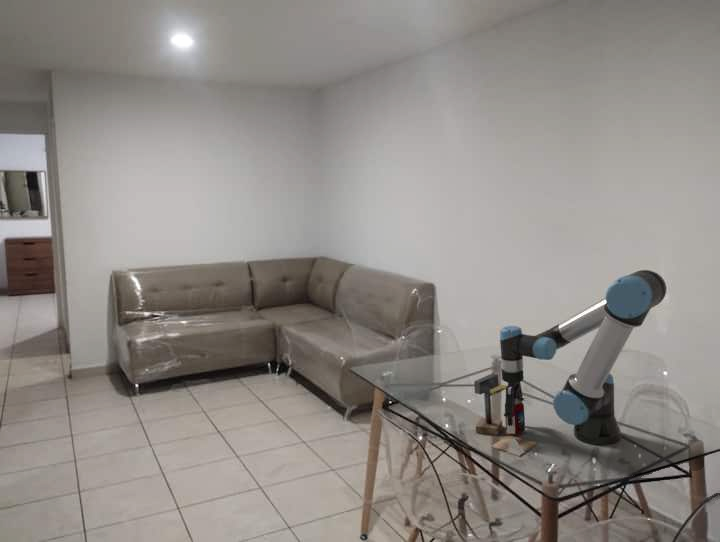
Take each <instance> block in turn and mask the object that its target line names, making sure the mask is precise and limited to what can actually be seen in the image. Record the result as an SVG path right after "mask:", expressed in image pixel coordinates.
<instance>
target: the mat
mask: <svg viewBox="0 0 720 542" xmlns="http://www.w3.org/2000/svg"><path fill="white" fill-rule="evenodd" d="M512 439H515V440H516V441H517V442H518V444H519V446H520V447H521V448H522V449H523V451H526V452H528V451H529V450H531V449H532V448H533V447H535V446H537V445H538V444H537V442H535V441H531V440H528V439H524V438H521V437H518V436H515V435H512V434H507V436H505V437H502V439H500V440H498V441H497V442H495V443H494V444H492V445H491V449H494V450H498V451H501V452H504V453H507V452H509V445H508V442H509V441H511V440H512Z"/></svg>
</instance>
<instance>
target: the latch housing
mask: <svg viewBox="0 0 720 542" xmlns="http://www.w3.org/2000/svg"><path fill="white" fill-rule="evenodd" d="M502 428H503V419H495V418H492V423H490V424H488V423H486V417H485V418H484V417H481V418H480V419H479V420H478V422H477V423H476V424H475V433H476V434H485V435H493V436H498V435H499V434H500V431H501V430H502Z"/></svg>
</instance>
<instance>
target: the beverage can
mask: <svg viewBox="0 0 720 542" xmlns="http://www.w3.org/2000/svg"><path fill="white" fill-rule="evenodd" d="M514 416H515V434H511V436H520V435H522V434H524V433H525V432H526V420H525V419H526V417H525V404H524V403H523V401H522V400H520V399H518V398H516V399H515V406H514ZM504 419H505V430H506V432H507V420H506V417H505V416H504Z"/></svg>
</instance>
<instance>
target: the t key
mask: <svg viewBox="0 0 720 542" xmlns="http://www.w3.org/2000/svg"><path fill="white" fill-rule="evenodd" d="M473 383H474V393H475V395H476V394H477V395H483V398H484V399H483V400H484V415H485V418H486V423H488V424H490V423H492V419H493V417H492V402H491V401H492V400H491V398H492V396H495V395H497V394H499V393H500V392H503V391H506V388H507V386H508V385H504V384H500V385H499V374H497V373H493V372H492V373H490V374H487V375H486V376H484V377H481V378H479V379H476V380H474V382H473Z"/></svg>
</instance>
